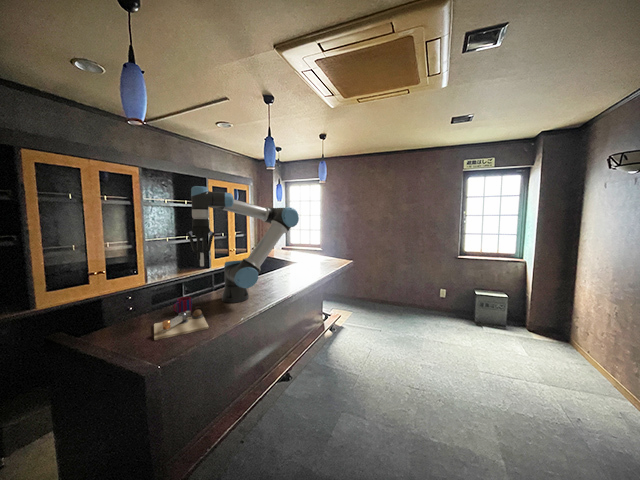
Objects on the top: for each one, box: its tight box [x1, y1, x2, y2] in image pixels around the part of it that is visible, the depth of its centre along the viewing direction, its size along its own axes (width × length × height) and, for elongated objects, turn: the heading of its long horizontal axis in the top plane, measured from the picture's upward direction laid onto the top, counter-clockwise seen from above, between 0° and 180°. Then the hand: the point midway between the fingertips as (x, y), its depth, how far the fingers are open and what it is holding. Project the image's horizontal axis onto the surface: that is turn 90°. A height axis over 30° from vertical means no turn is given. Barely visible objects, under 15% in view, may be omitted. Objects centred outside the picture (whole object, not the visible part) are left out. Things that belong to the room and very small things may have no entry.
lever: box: [161, 311, 192, 330], centre depth 112 cm, size 3×16×4 cm, turn 172°
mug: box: [172, 296, 193, 314], centre depth 129 cm, size 7×10×7 cm
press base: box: [153, 309, 210, 341], centre depth 112 cm, size 20×16×5 cm
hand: (202, 265), depth 127 cm, fingers closed
